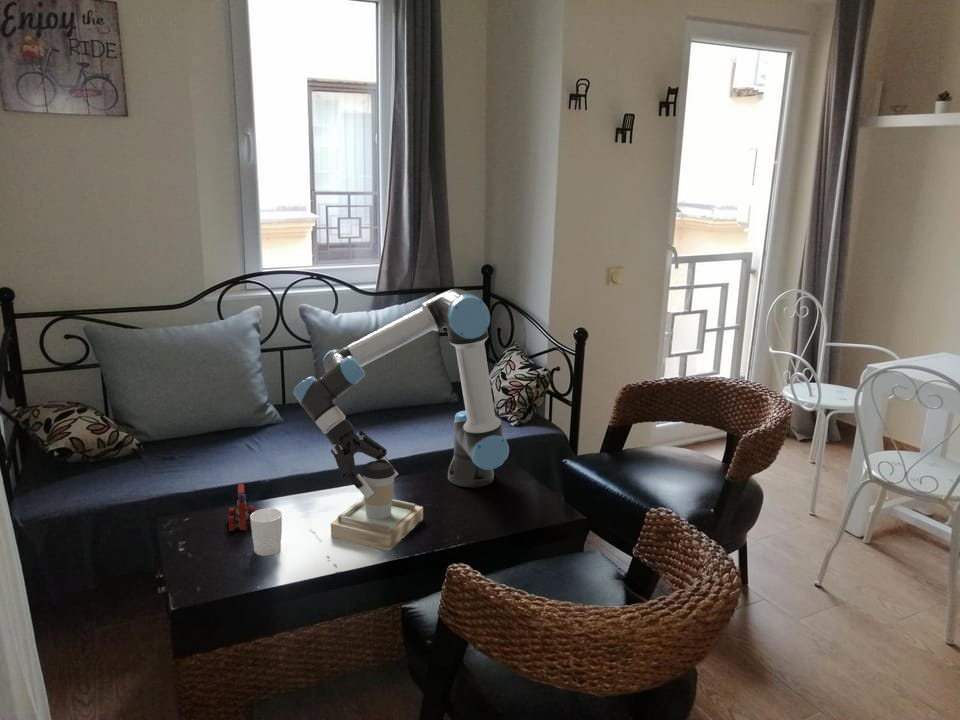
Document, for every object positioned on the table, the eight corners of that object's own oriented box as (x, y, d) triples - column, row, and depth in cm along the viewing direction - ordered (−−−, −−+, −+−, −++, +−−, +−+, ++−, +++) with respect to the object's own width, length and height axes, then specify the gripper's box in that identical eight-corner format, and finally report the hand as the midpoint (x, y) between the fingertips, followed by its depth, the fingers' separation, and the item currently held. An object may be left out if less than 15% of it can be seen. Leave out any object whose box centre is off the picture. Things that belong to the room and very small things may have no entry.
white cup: (245, 553, 187) (243, 518, 185) (264, 539, 194) (262, 506, 192) (271, 559, 185) (269, 524, 182) (289, 545, 192) (287, 511, 189)
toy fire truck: (229, 537, 195) (226, 501, 193) (229, 516, 207) (227, 483, 204) (255, 534, 198) (254, 499, 195) (254, 513, 209) (253, 480, 206)
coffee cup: (388, 522, 197) (389, 472, 193) (357, 518, 199) (357, 468, 195) (398, 508, 206) (399, 459, 202) (368, 504, 207) (368, 456, 203)
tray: (368, 507, 215) (368, 490, 214) (422, 519, 209) (423, 502, 207) (331, 536, 197) (330, 518, 196) (388, 551, 191) (388, 532, 189)
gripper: (351, 420, 213) (396, 476, 212) (301, 448, 191) (350, 511, 189) (367, 406, 210) (412, 463, 209) (317, 432, 188) (367, 497, 186)
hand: (383, 486), depth 199 cm, fingers open, 13 cm apart
